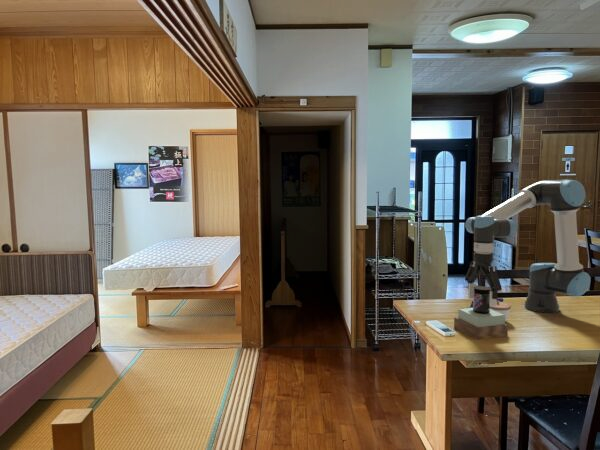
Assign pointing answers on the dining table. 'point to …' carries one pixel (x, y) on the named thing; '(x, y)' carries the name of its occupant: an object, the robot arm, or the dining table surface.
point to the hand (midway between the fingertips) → (481, 302)
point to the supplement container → (481, 299)
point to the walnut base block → (480, 329)
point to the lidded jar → (502, 309)
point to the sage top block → (481, 317)
